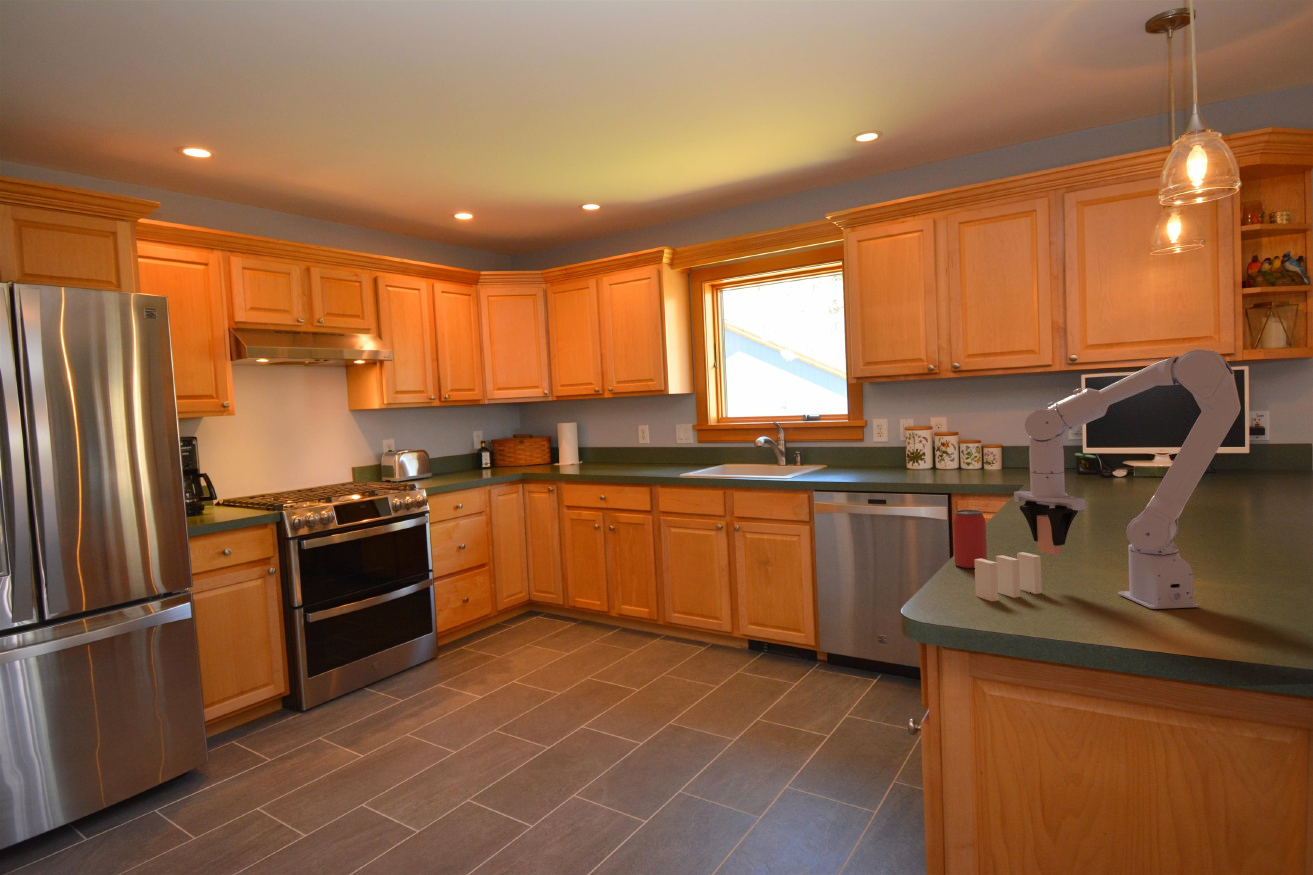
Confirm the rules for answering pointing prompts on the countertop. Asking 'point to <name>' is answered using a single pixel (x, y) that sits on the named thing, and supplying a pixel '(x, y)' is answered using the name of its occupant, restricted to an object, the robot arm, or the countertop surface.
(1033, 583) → the ivory domino
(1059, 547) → the rust domino
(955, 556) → the beer can
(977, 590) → the ivory domino
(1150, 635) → the countertop surface
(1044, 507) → the robot arm
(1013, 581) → the ivory domino
